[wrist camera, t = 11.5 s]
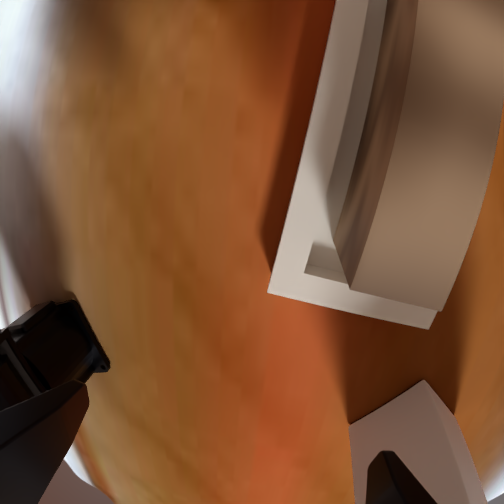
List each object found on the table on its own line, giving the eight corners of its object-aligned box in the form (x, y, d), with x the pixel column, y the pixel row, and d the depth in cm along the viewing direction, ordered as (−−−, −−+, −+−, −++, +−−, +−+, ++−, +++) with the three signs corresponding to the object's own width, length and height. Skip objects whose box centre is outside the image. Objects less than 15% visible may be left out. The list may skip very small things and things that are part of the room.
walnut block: (400, 259, 16) (441, 311, 11) (332, 240, 16) (349, 289, 11) (451, 27, 12) (505, -8, 6) (387, -1, 12) (421, -53, 6)
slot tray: (415, 309, 18) (428, 329, 16) (271, 273, 19) (267, 292, 16) (484, 16, 11) (503, 5, 9) (343, -41, 12) (348, -62, 9)
